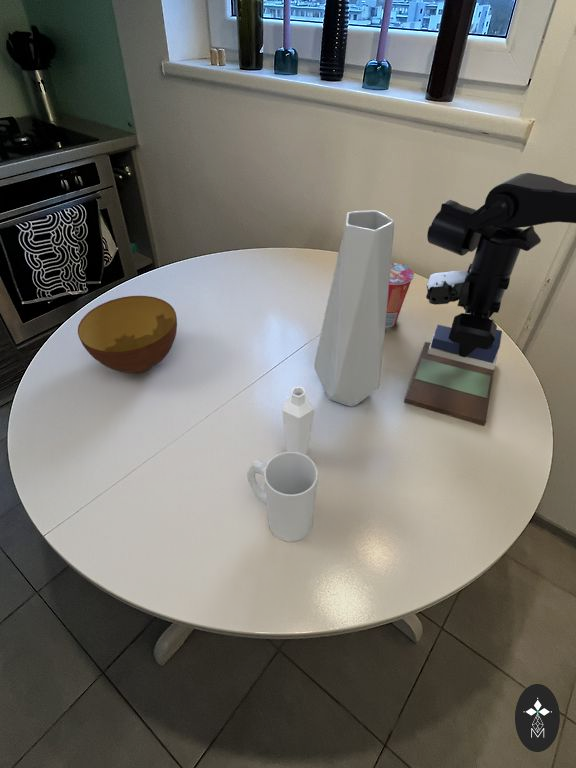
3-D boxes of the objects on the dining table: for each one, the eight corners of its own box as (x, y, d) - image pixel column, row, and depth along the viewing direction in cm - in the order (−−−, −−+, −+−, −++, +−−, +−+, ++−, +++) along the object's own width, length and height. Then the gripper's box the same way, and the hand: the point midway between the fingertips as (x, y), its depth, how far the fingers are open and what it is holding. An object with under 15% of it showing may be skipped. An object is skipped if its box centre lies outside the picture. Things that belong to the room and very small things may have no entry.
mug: (322, 513, 66) (326, 463, 58) (301, 552, 62) (303, 504, 53) (262, 485, 69) (259, 435, 61) (239, 520, 65) (231, 471, 57)
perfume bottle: (316, 453, 74) (321, 387, 64) (302, 472, 71) (305, 406, 61) (292, 441, 76) (293, 375, 65) (278, 459, 73) (276, 394, 63)
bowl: (81, 394, 84) (63, 352, 77) (107, 336, 97) (94, 295, 90) (176, 392, 84) (166, 351, 77) (190, 335, 97) (182, 295, 90)
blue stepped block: (496, 352, 79) (505, 330, 76) (493, 370, 76) (503, 347, 72) (432, 337, 82) (438, 315, 79) (427, 353, 79) (433, 331, 75)
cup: (380, 305, 105) (387, 258, 97) (411, 320, 101) (422, 272, 92) (355, 322, 100) (360, 274, 92) (386, 339, 96) (395, 290, 88)
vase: (394, 401, 82) (434, 227, 60) (340, 423, 79) (360, 246, 56) (357, 362, 90) (380, 195, 68) (306, 380, 86) (312, 210, 64)
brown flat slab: (494, 363, 90) (496, 358, 89) (484, 426, 78) (486, 421, 77) (423, 345, 94) (425, 340, 93) (403, 402, 82) (405, 397, 81)
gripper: (447, 231, 76) (427, 309, 87) (425, 285, 63) (405, 368, 74) (518, 243, 73) (488, 322, 83) (509, 302, 60) (476, 387, 71)
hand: (464, 347), depth 78 cm, fingers closed on blue stepped block, 4 cm apart
